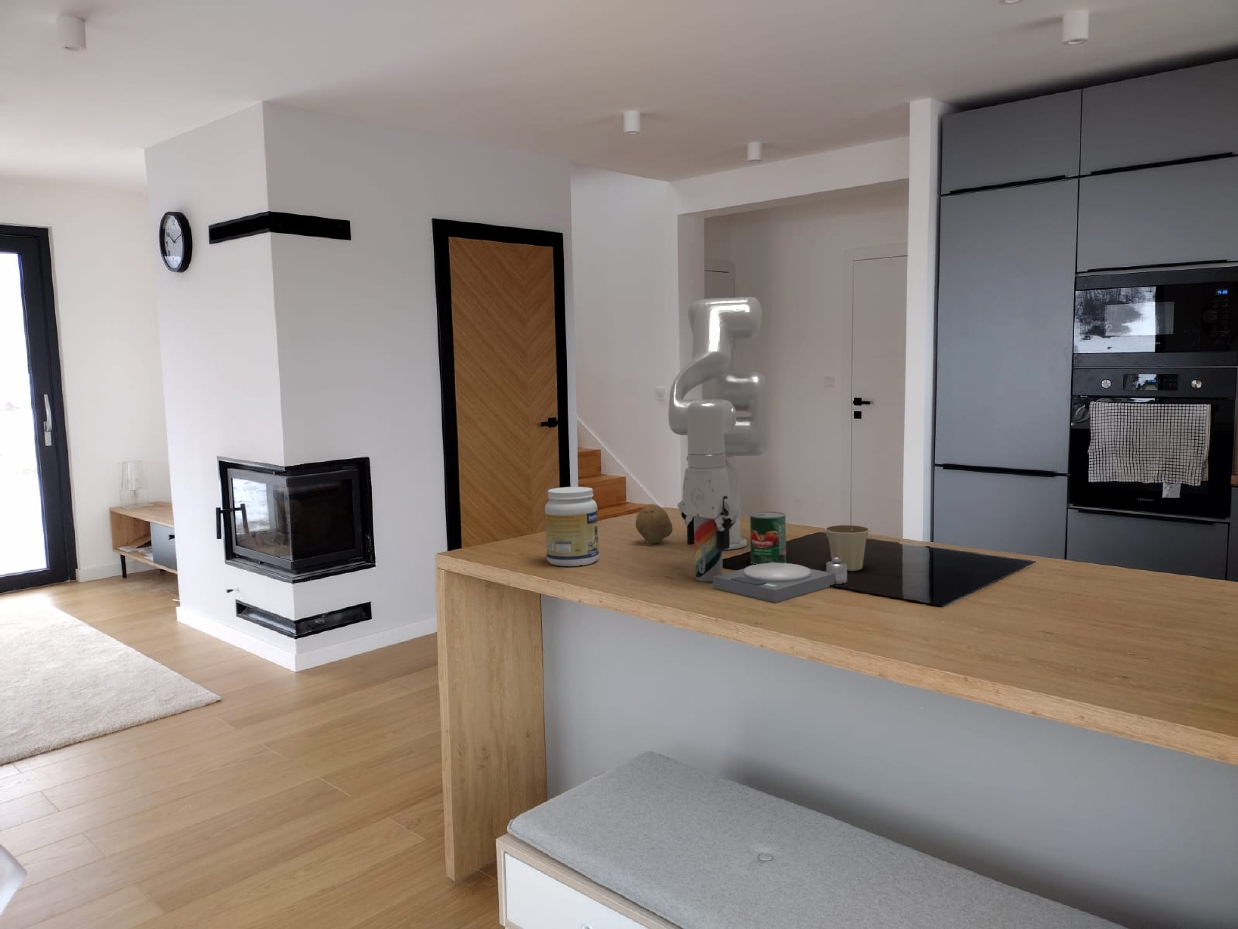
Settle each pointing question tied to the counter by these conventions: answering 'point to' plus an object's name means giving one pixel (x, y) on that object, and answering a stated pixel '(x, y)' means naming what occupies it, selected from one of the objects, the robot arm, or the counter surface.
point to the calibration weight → (837, 569)
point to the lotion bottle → (706, 549)
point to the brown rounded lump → (653, 523)
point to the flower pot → (848, 544)
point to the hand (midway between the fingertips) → (708, 545)
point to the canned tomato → (768, 537)
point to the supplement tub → (571, 526)
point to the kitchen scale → (774, 581)
